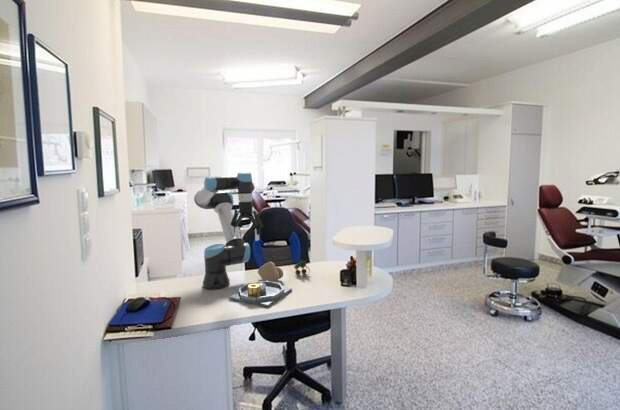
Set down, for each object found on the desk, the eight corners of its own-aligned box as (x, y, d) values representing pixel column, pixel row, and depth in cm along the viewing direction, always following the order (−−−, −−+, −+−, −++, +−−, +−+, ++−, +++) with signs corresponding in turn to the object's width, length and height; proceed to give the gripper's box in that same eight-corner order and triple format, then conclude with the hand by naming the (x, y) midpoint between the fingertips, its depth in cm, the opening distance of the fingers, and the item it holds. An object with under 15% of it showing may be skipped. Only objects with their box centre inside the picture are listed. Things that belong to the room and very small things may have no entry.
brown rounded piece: (272, 288, 206) (287, 278, 198) (262, 290, 200) (277, 279, 192) (265, 268, 212) (279, 257, 204) (255, 269, 206) (269, 258, 198)
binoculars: (308, 277, 213) (305, 262, 217) (313, 273, 205) (309, 257, 209) (294, 279, 209) (291, 264, 213) (299, 275, 202) (295, 259, 206)
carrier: (229, 299, 174) (228, 287, 173) (256, 284, 196) (255, 273, 195) (267, 307, 164) (267, 295, 163) (291, 290, 185) (291, 279, 184)
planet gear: (252, 293, 178) (252, 283, 177) (262, 295, 175) (261, 284, 174) (245, 298, 172) (245, 286, 172) (255, 299, 170) (255, 288, 169)
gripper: (222, 201, 184) (224, 238, 187) (260, 202, 173) (262, 242, 176) (231, 199, 191) (233, 236, 193) (268, 201, 180) (270, 239, 182)
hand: (247, 239), depth 185 cm, fingers open, 13 cm apart
